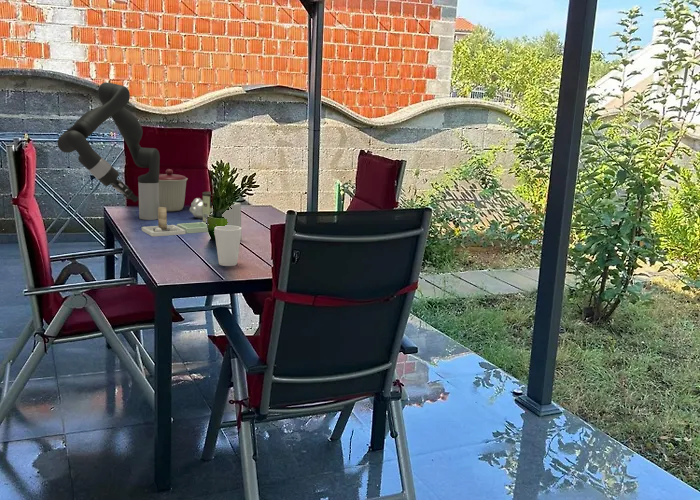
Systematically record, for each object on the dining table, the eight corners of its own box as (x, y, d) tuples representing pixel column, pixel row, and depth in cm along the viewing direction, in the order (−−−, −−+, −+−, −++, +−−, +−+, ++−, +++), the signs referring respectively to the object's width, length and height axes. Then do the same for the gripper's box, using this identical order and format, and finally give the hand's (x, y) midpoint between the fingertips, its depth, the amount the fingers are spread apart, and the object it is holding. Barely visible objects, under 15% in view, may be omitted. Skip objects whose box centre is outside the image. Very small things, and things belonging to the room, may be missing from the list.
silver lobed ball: (192, 216, 324) (192, 196, 321) (211, 217, 323) (211, 197, 321) (187, 219, 315) (187, 198, 313) (207, 220, 314) (207, 199, 312)
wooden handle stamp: (153, 231, 280) (152, 207, 277) (167, 230, 283) (166, 206, 281) (158, 233, 275) (157, 209, 273) (172, 232, 278) (171, 208, 276)
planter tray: (176, 230, 288) (176, 223, 287) (203, 228, 294) (202, 222, 294) (186, 235, 278) (186, 228, 277) (213, 233, 285) (213, 226, 284)
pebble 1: (153, 234, 273) (153, 227, 273) (160, 233, 275) (160, 226, 274) (156, 235, 271) (155, 228, 270) (163, 234, 273) (163, 227, 272)
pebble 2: (169, 233, 277) (168, 226, 276) (175, 232, 279) (175, 225, 278) (171, 234, 274) (171, 227, 274) (178, 233, 276) (178, 226, 275)
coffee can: (228, 221, 314) (228, 192, 311) (219, 225, 305) (219, 194, 302) (207, 219, 316) (207, 190, 313) (198, 223, 307) (198, 193, 303)
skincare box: (242, 239, 275) (242, 202, 271) (234, 242, 268) (234, 204, 265) (224, 237, 277) (224, 201, 274) (216, 240, 271) (216, 203, 268)
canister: (160, 206, 349) (159, 166, 344) (193, 208, 346) (192, 168, 342) (145, 211, 331) (144, 169, 326) (179, 214, 329) (179, 171, 324)
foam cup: (216, 260, 238) (216, 225, 235) (242, 260, 239) (242, 225, 236) (213, 266, 229) (213, 230, 226) (240, 267, 230) (240, 230, 227)
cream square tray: (141, 232, 280) (141, 227, 279) (173, 230, 288) (173, 224, 287) (152, 238, 269) (152, 233, 268) (185, 236, 277) (185, 230, 276)
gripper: (115, 166, 254) (145, 194, 263) (105, 163, 266) (134, 190, 275) (101, 180, 253) (132, 208, 262) (92, 176, 264) (122, 203, 273)
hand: (133, 199), depth 268 cm, fingers open, 8 cm apart
